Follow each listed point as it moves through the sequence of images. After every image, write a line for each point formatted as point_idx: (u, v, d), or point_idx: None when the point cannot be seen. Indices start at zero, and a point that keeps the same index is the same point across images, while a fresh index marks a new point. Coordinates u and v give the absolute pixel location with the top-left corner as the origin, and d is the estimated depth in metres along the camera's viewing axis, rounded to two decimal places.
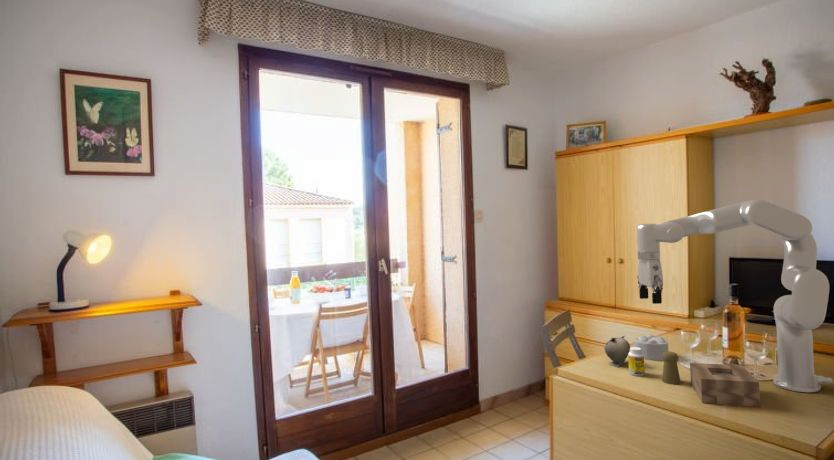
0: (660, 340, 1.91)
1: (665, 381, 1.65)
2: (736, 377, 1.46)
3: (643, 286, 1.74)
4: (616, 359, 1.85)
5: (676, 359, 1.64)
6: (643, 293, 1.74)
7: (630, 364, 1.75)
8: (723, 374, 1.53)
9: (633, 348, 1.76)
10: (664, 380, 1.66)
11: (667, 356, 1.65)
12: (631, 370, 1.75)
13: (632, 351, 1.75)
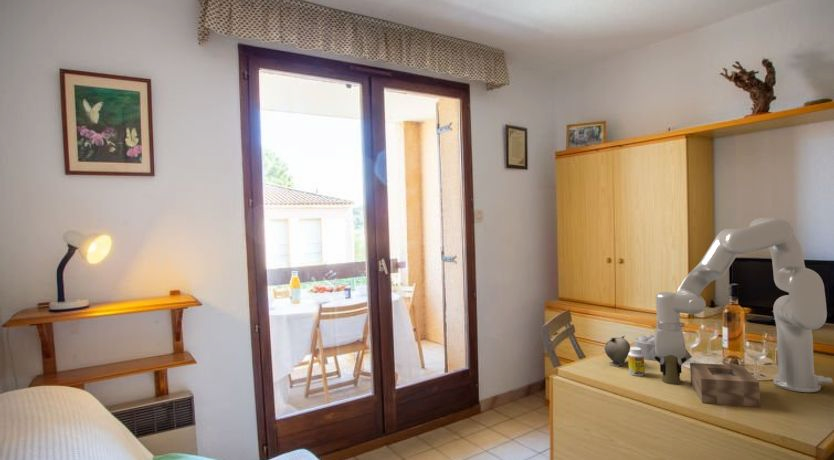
0: None
1: (665, 381, 1.65)
2: (736, 377, 1.46)
3: None
4: (616, 359, 1.85)
5: (676, 359, 1.64)
6: (664, 368, 1.67)
7: (630, 364, 1.75)
8: (723, 374, 1.53)
9: (633, 348, 1.76)
10: (664, 380, 1.66)
11: (667, 356, 1.65)
12: (631, 370, 1.75)
13: (632, 351, 1.75)
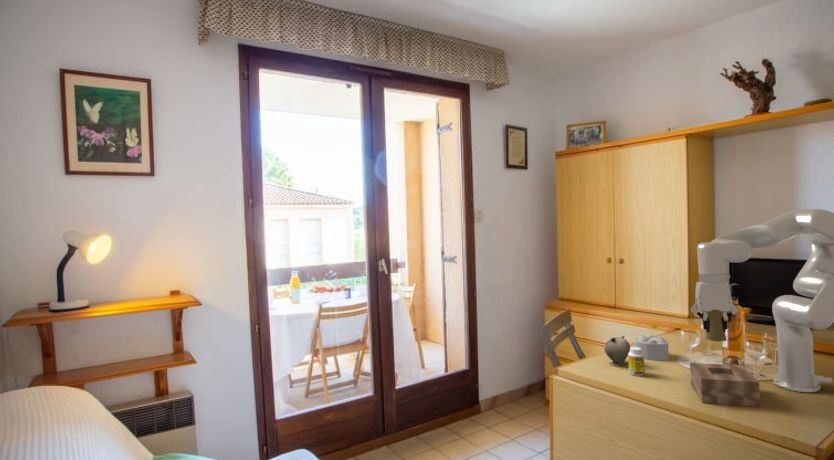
0: (660, 340, 1.91)
1: (709, 338, 1.52)
2: (736, 377, 1.46)
3: None
4: (616, 359, 1.85)
5: (721, 314, 1.51)
6: None
7: (630, 364, 1.75)
8: (723, 374, 1.53)
9: (633, 348, 1.76)
10: (708, 337, 1.53)
11: (711, 311, 1.51)
12: (631, 370, 1.75)
13: (632, 351, 1.75)
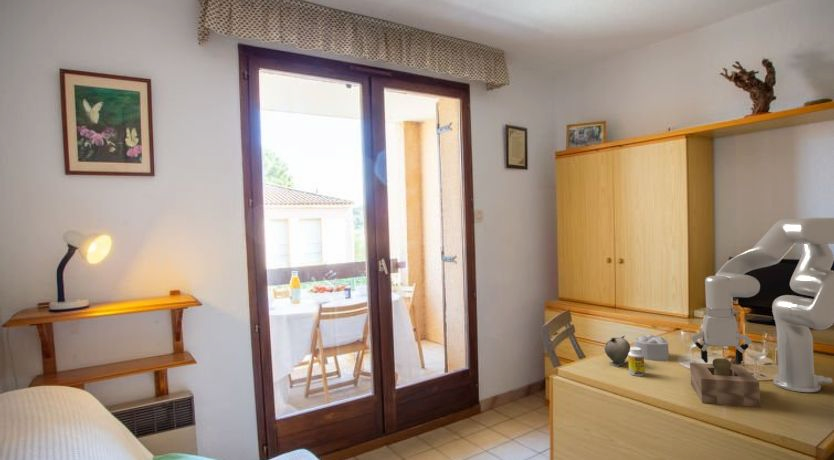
0: (660, 340, 1.91)
1: None
2: (736, 377, 1.46)
3: None
4: (616, 359, 1.85)
5: (729, 367, 1.50)
6: None
7: (630, 364, 1.75)
8: None
9: (633, 348, 1.76)
10: None
11: (719, 363, 1.50)
12: (631, 370, 1.75)
13: (632, 351, 1.75)
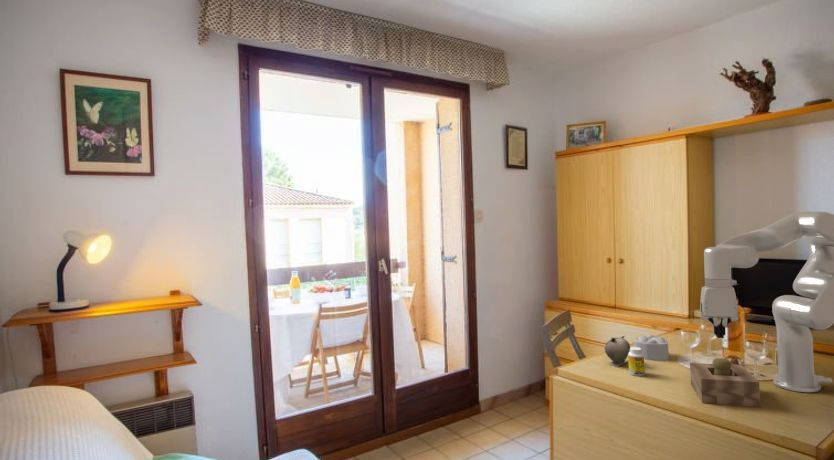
0: (660, 340, 1.91)
1: None
2: (736, 377, 1.46)
3: None
4: (616, 359, 1.85)
5: (729, 367, 1.50)
6: None
7: (630, 364, 1.75)
8: None
9: (633, 348, 1.76)
10: None
11: (719, 363, 1.50)
12: (631, 370, 1.75)
13: (632, 351, 1.75)
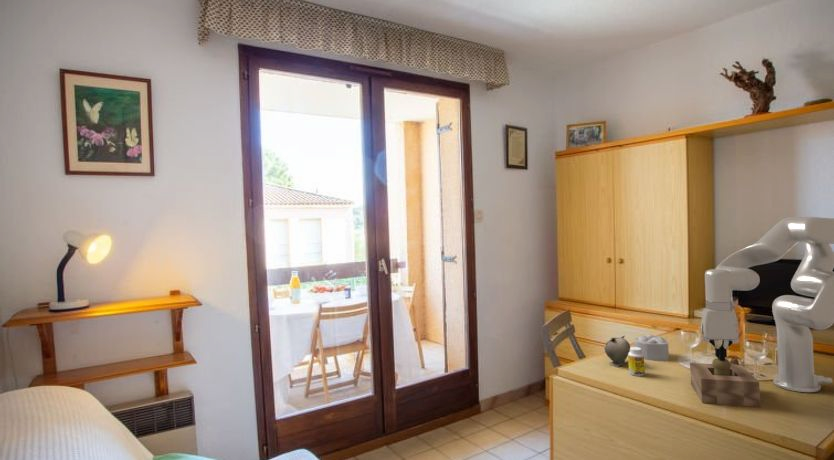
0: (660, 340, 1.91)
1: None
2: (736, 377, 1.46)
3: None
4: (616, 359, 1.85)
5: (729, 367, 1.50)
6: None
7: (630, 364, 1.75)
8: None
9: (633, 348, 1.76)
10: None
11: (718, 364, 1.50)
12: (631, 370, 1.75)
13: (632, 351, 1.75)
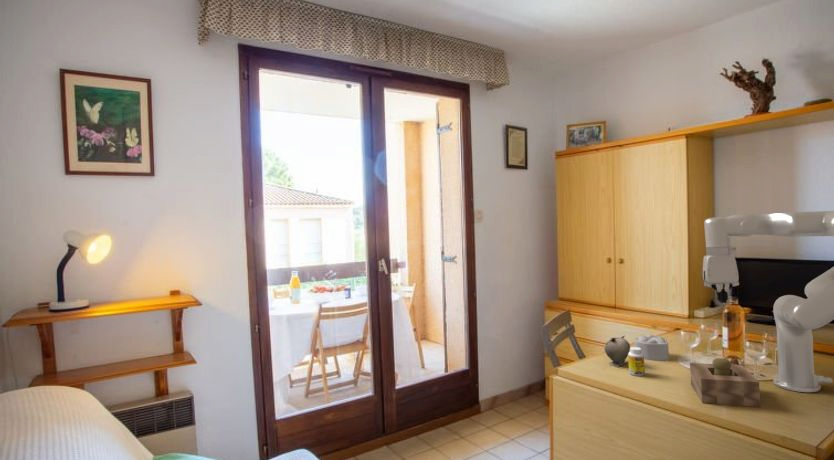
0: (660, 340, 1.91)
1: None
2: (736, 377, 1.46)
3: None
4: (616, 359, 1.85)
5: (729, 367, 1.50)
6: None
7: (630, 364, 1.75)
8: None
9: (633, 348, 1.76)
10: None
11: (719, 363, 1.50)
12: (631, 370, 1.75)
13: (632, 351, 1.75)
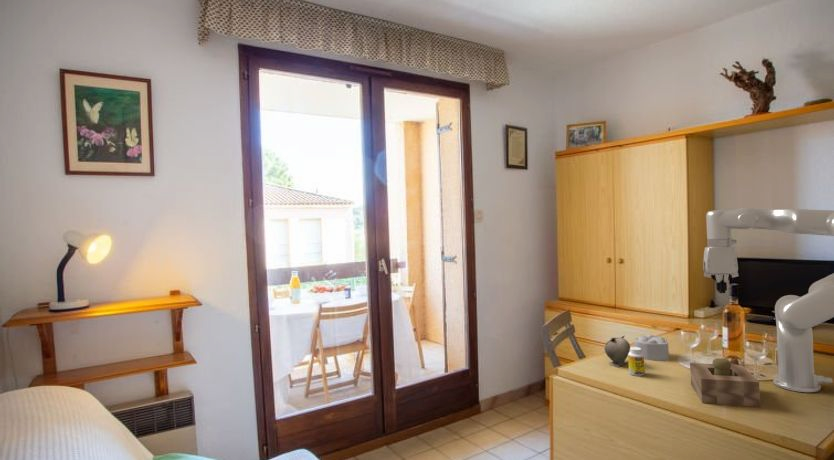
0: (660, 340, 1.91)
1: None
2: (736, 377, 1.46)
3: None
4: (616, 359, 1.85)
5: (729, 367, 1.50)
6: None
7: (630, 364, 1.75)
8: None
9: (633, 348, 1.76)
10: None
11: (719, 363, 1.50)
12: (631, 370, 1.75)
13: (632, 351, 1.75)
